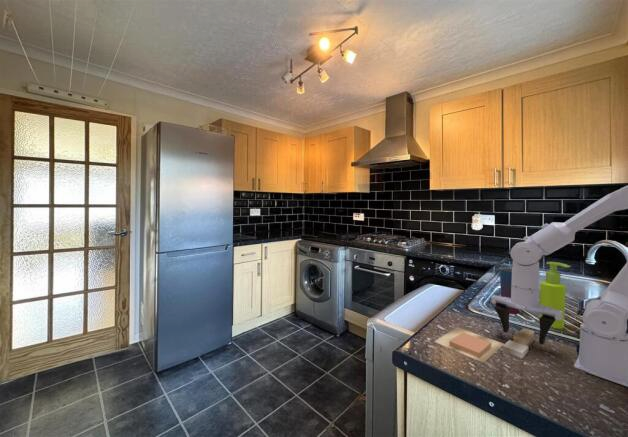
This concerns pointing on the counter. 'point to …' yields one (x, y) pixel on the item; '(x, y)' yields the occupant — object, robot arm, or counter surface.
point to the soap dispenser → (553, 292)
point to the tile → (470, 344)
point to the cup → (507, 285)
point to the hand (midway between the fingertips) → (523, 336)
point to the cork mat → (494, 344)
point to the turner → (519, 343)
